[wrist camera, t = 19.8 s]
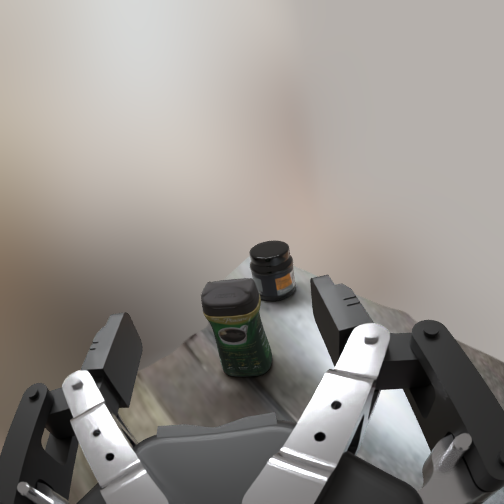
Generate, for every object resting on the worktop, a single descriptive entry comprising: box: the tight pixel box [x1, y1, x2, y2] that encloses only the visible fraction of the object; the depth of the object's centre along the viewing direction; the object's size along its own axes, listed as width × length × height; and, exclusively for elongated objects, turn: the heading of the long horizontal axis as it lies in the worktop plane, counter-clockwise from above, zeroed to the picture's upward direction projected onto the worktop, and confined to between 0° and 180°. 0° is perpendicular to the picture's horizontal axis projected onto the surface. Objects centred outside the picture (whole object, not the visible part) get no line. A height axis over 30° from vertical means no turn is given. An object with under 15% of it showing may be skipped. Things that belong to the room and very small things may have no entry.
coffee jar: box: [201, 278, 272, 377], centre depth 54 cm, size 10×8×19 cm
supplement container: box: [250, 241, 296, 301], centre depth 77 cm, size 10×10×12 cm
